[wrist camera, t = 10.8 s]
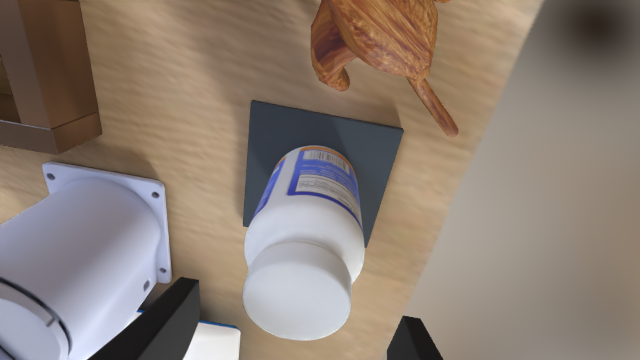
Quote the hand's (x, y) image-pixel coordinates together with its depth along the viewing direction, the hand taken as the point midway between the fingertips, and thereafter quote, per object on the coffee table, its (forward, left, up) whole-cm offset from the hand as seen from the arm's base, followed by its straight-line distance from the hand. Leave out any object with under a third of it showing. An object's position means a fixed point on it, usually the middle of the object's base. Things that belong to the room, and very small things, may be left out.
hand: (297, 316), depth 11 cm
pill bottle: (0, 0, -10) cm, 10 cm away
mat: (0, 0, -10) cm, 10 cm away
